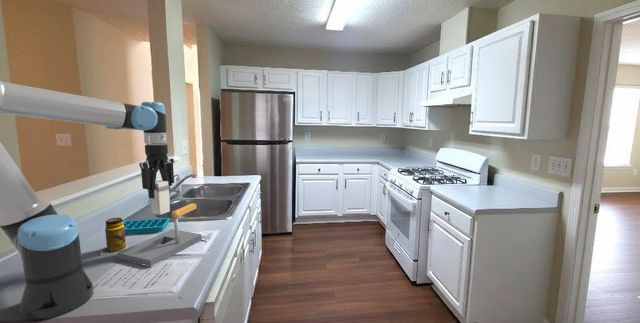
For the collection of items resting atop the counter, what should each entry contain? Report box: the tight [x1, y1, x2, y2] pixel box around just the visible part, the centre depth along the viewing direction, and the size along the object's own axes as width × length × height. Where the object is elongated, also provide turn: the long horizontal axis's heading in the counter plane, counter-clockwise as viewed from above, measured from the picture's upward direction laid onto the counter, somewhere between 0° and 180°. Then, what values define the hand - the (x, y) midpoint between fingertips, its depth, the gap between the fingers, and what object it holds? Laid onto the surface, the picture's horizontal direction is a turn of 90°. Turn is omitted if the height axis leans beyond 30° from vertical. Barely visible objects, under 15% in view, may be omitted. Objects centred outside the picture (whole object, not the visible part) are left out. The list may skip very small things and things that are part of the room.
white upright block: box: [150, 180, 171, 216], centre depth 114 cm, size 5×5×12 cm
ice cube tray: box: [122, 217, 171, 236], centre depth 134 cm, size 12×20×3 cm, turn 102°
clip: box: [171, 203, 197, 243], centre depth 118 cm, size 2×12×12 cm, turn 166°
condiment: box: [99, 217, 128, 256], centre depth 113 cm, size 7×8×12 cm
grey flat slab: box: [117, 228, 203, 267], centre depth 114 cm, size 24×16×2 cm, turn 160°
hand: (160, 204), depth 114 cm, fingers closed on white upright block, 5 cm apart
